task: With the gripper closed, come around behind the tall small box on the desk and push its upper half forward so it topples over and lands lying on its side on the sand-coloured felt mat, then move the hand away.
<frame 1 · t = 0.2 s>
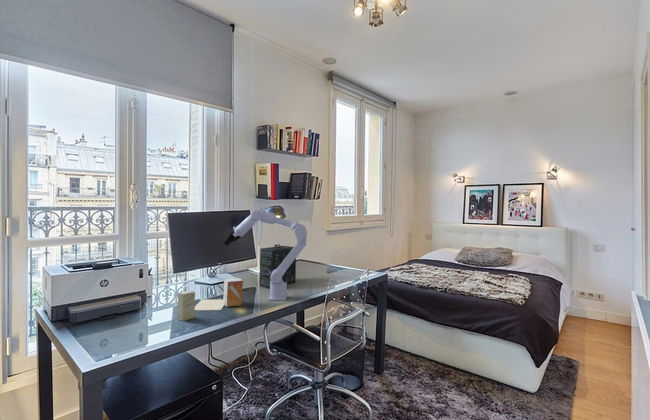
hand: (226, 243, 181), 31 cm above the table, tool tilted 45°, fingers open, 7 cm apart
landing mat: (210, 305, 170), on the table
headset box: (278, 284, 214), on the table
small box: (232, 304, 171), on the table, touching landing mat
skincare box: (186, 318, 151), on the table
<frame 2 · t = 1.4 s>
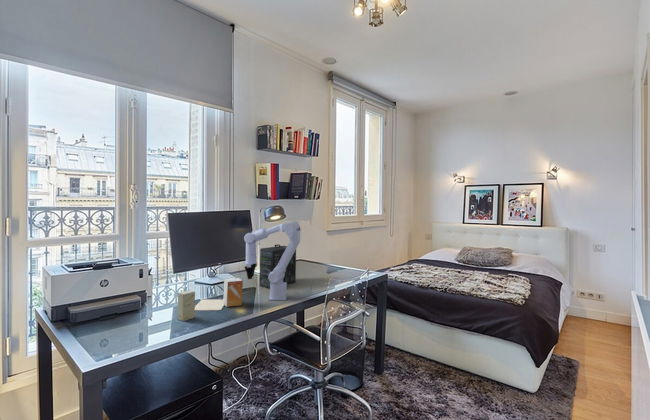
hand: (250, 277, 188), 10 cm above the table, tool pointing down, fingers open, 5 cm apart
nothing on the table moved.
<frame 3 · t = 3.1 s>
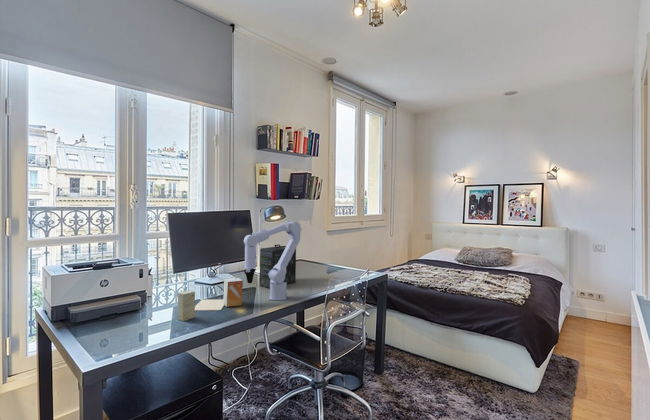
hand: (249, 282, 176), 10 cm above the table, tool pointing down, fingers closed
nothing on the table moved.
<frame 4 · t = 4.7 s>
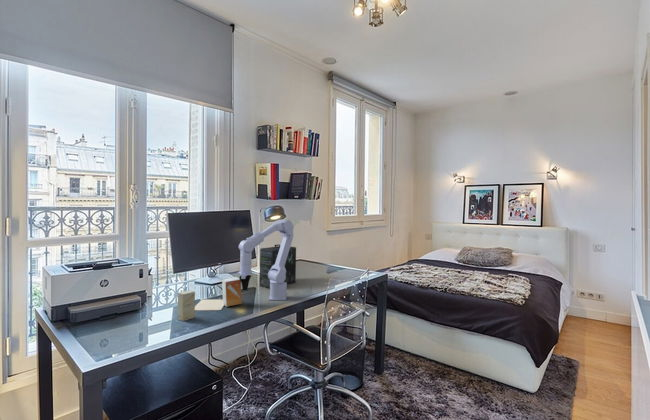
hand: (245, 289, 171), 8 cm above the table, tool pointing down, fingers closed
small box: (232, 304, 171), on the table, touching gripper, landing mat
everything else where it was.
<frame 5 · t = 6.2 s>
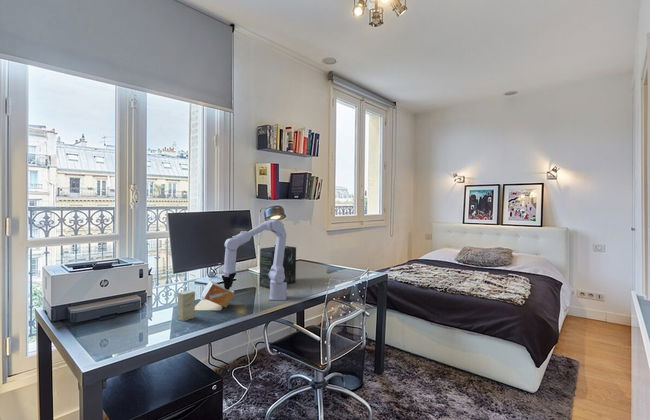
hand: (228, 288, 170), 9 cm above the table, tool pointing down, fingers open, 5 cm apart
small box: (229, 298, 170), point 4 cm above the table, touching gripper, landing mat
everything else where it was.
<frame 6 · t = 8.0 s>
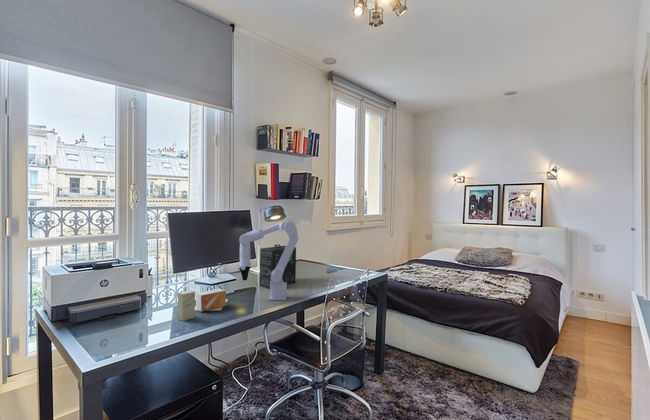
hand: (244, 280, 182), 10 cm above the table, tool pointing down, fingers closed
small box: (223, 297, 170), point 4 cm above the table, touching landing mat
everything else where it was.
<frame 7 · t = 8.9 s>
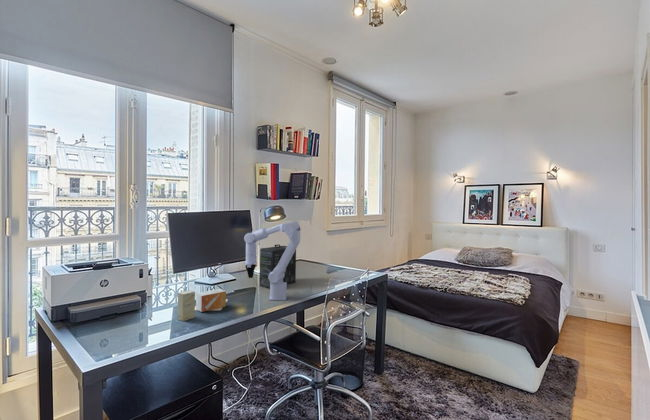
hand: (250, 277, 188), 10 cm above the table, tool pointing down, fingers closed
nothing on the table moved.
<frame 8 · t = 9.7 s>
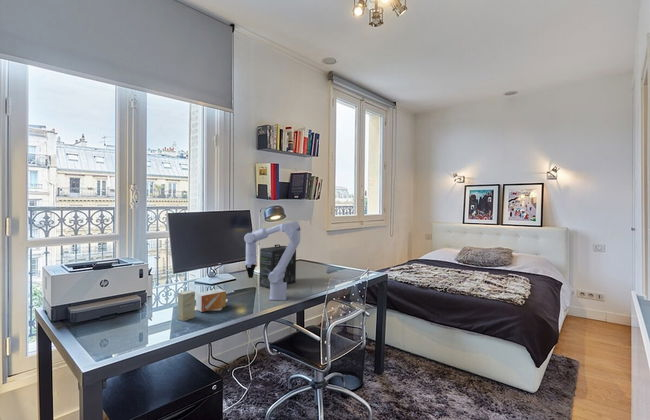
hand: (250, 277, 188), 10 cm above the table, tool pointing down, fingers closed
nothing on the table moved.
at the end: small box tilted 90°; small box touching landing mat; the gripper is holding nothing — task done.
